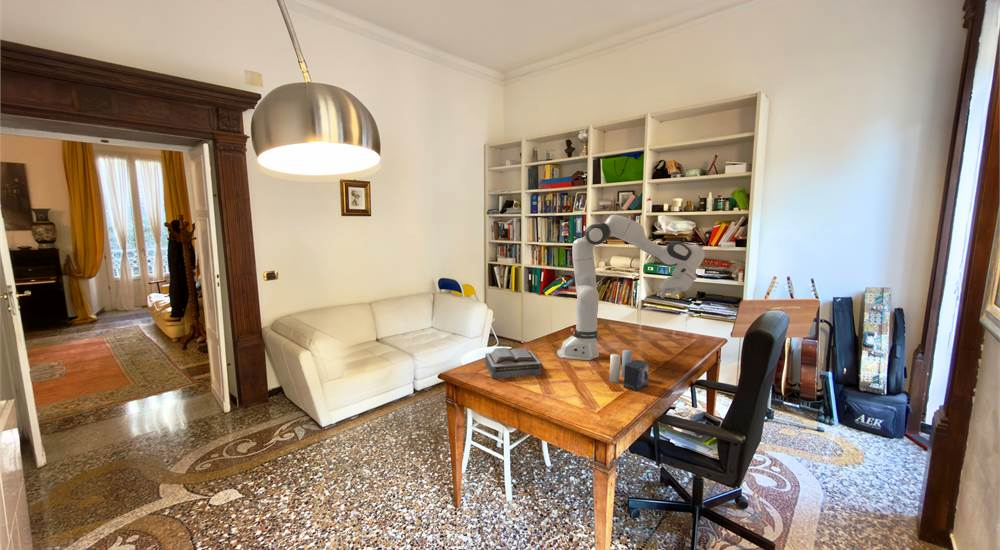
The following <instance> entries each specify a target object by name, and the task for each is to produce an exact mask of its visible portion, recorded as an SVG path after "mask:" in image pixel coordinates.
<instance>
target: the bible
mask: <svg viewBox="0 0 1000 550" xmlns="http://www.w3.org/2000/svg"><path fill="white" fill-rule="evenodd" d="M484 354H485V355H484V356H485V367H486V369H487V372H488V373H489V375H490V378H491V379H492V380H495V379H510V378H511V377H513V378H519V377H523V376H526V377H530V376H542V362H541V360H540V359H539V358H538V357H537V356H536V355H535V354H534V352H533V351H532V350H528V349H527V348H511V349H509V348H507V347H499V348H498V347H497V348H494V349H493V351H492V352H486V353H484Z"/></svg>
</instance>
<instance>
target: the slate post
mask: <svg viewBox="0 0 1000 550" xmlns="http://www.w3.org/2000/svg"><path fill="white" fill-rule="evenodd" d="M621 352H622V353H621V354H622V355H621V356H622V357H621V377H623V378H624V371H625V364H627V363H630V362H632V361H633V351H632V350H629V349H623V350H622V351H621Z"/></svg>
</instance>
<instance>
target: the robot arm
mask: <svg viewBox="0 0 1000 550" xmlns="http://www.w3.org/2000/svg"><path fill="white" fill-rule="evenodd" d="M610 236H611V237H616V238H618V239H620V240H622V241H624V242H626V243H629V244H630V245H633V246H635V247H636V248H638V249H639V250H642V251H643V252H645V253H646V254H648V255H650V256H652V257H654V258H655V259H656V260H658V261H659V262H660V263H661V264H662V266H664V267H669V268H671V267H675V268H674V269H673V270H672V272H671V275H670V276H667V277H666V278H665V279H664V280H663V282H662V283H661V284H660V286H659V289H660V290H661V292H660V293H661V294H660V296H659V297H660V298H662V299H665V297H666V294H667V293H668V292H671V293H670V296H669V297H670V298H673V299H676V296H678V294H680V293H681V292H686V291H688V290H689V289H690V288H691V286H692V285H693V283H694V281H696V280H697V278H698V276H697V275H695V273H696V270H698V269H699V268H700V266H701V264H702V263H703V261H704V260H705V256H706V252H705V250H704V248H702V247H701V246H700V245H698V244H687V243H684V242H682V241H680V240H672V241H671V242H669V243H668V244H667V245H666V246H661V245H659V244H658V243H656V242H654V241H652V240H650V239H649V238H648V237H647V235H646V233H645V229H644V227H643V225H642V224H641V223H639V222H637V221H635V220H633V219H631V218H628V217H626V216H623V215H619V214H615V213H614V214H611V215H609V217H608V216H607V218H606V220H605V221H604V222H603V223H600V222H594V223H591V224H589V226H588V227H587V228H586V230H585V234H584V236H583V237H580V238H576V239H575V240H574V241H573V243H572V264H573V273H574V282H575V283H574V284H575V292H576V297H577V298H576V300H577V301H576V315H575V317H576V319H575V323H576V324H575V328H573V327H572V328H570V332H571V334H572V335H570V336H569V337H568V338H567V339H564V341H563V342H562V344H561V347H560V348H558V349H557V353H556V355H557V356H558V357H559V358H561V359H566V360H567V359H568V360H579V361H580V360H582V361H592V360H593V359H597V358H598V357H600V353H599V349H598V337H599V336H598V335H599V332H598V312H599V302H600V301H599V300H600V299H599V298H600V296H599V294H600V293H599V292H598V289H597V278H596V276H597V275H596V264H595V257H594V256H595V255H594V248H595V246H598V245H601V244H603V243H604V242H606V240H607V239H608V238H609V237H610Z"/></svg>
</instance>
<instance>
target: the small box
mask: <svg viewBox="0 0 1000 550" xmlns="http://www.w3.org/2000/svg"><path fill="white" fill-rule="evenodd" d="M649 368H650V363H649V362H647V361H645V360H644V361H643V360H640V359H635V360H632V362H630V363H627V364H625V371H624V377H623V388H625V389H628V390H631V391H633V392H637V391H639V390H641V389H643V388H645V387H647V386H648V385H649V371H650V369H649Z"/></svg>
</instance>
